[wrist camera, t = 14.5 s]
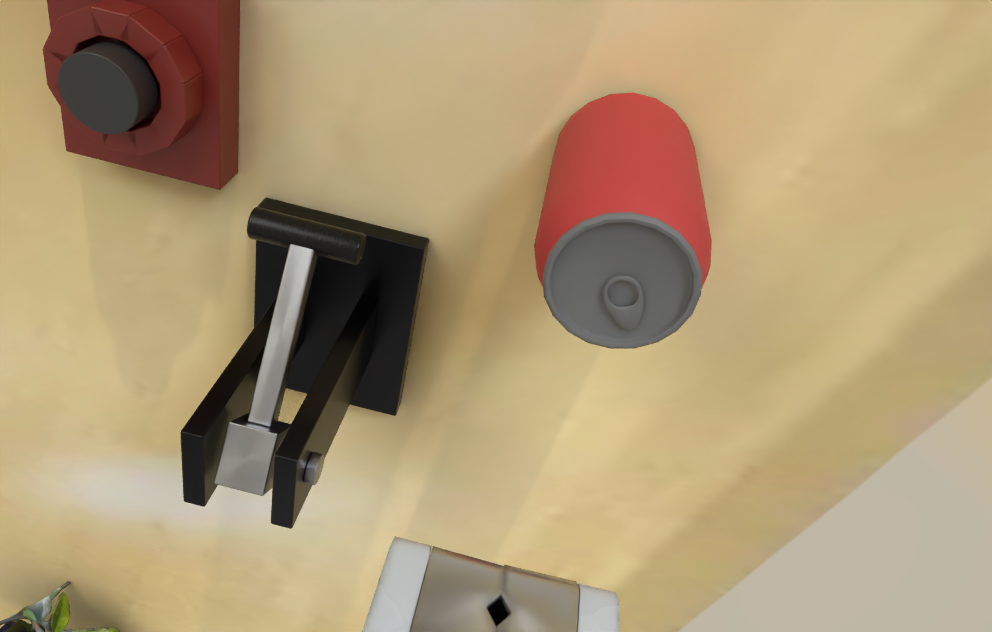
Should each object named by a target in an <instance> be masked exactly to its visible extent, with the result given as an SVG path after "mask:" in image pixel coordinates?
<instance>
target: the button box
mask: <svg viewBox="0 0 992 632" xmlns="http://www.w3.org/2000/svg"><path fill="white" fill-rule="evenodd" d="M47 3H48V11H49V19H50V27H51V33H50V35H49V37H48V39H47V41H46V43H45V45H44V48H43V54H44V61H45V69H46V76H47V84H48V86H49V89H50V90H51V92H52V93H53V95H54V97H55V98H56V100H57V101H58V103H59V105H60V106H61V113H62V121H63V129H64V136H65V144H66V151H68V152H72V153H76V154H80V155H84V156H88V157H92V158H96V159H100V160H104V161H108V162H112V163H116V164H120V165H124V166H128V167H132V168H135V169H139V170H143V171H147V172H151V173H155V174H159V175H163V176H167V177H171V178H175V179H179V180H183V181H187V182H191V183H195V184H199V185H203V186H207V187H211V188H215V189H219V190H220V189H221V188H222V187H223V186H225V185H226V184H227V183H228V182H229V181H230V180H231V179H232V178H233V177H234V176H235V175H236V174H237V173H238V127H239V27H240V0H47ZM100 42H113V43H118V44H121V45H123V46H125V47H127V48H129V49H131V50H132V51H134V52H135V53H137V54H138V55H139V56H140V57H141V58H142V59H143V60H144V61H145V62H146V64H147V65H148V66H149V68H150V70H151V71H152V73H153V75H154V78H155V80H156V84H157V88H158V100H157V104H156V107H155V109H154V111H153V112H152V113H151V115H149V116H148V117H147V118H145V119H144V120H142V121H141V122H139V123H138V124H136V125H135V126H133V127H132V128H130V129H129V130H127V131H125V132H123V133H120V134H104V133H100V132H97V131H94V130H92V129H90V128H89V127H87V126H85V125H84V124H82V123H81V122H80V121H79V120H78V119H77V118H76V117H75V116H74V115H73V114H72V113H71V112H70V111H69V109H68V108H67V106H66V105H65V103H64V101H63V99H62V97H61V94H60V91H59V86H58V74H59V70H60V67H61V65H62V63H63V62H64V60H65V59H66V58H67V57H69V56H70V55H72V54H74V53H77V52H79V51H81V50H83V49H85V48H88V47H90V46H92V45H94V44H96V43H100Z"/></svg>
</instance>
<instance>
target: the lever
mask: <svg viewBox="0 0 992 632" xmlns="http://www.w3.org/2000/svg"><path fill="white" fill-rule="evenodd" d="M247 234H248V237H249V238H251V239H255V240H259V241H262V242H266V243H270V244H274V245H278V246H282V247H286V248H289V251H288V255H287V259H286V263H285V267H284V272H283V276H282V280H281V284H280V288H279V292H278V296H277V300H276V305H275V309H274V313H273V317H272V321H271V325H270V329H269V333H268V338H267V342H266V346H265V350H264V354H263V358H262V362H261V366H260V371H259V375H258V379H257V383H256V387H255V391H254V395H253V399H252V404H251V408H250V412H249V413H247V414H245V415H243V416H241V417H239V418H237V419H234V420H232V421H230V422H229V424H228V428H227V432H226V436H225V440H224V445H223V449H222V453H221V457H220V461H219V465H218V469H217V474H216V478H215V482H214V483H215V484H218V485H221V486H225V487H229V488H233V489H237V490H241V491H245V492H249V493H253V494H257V495H261V496H263V495H264V494H265V493H267V492H268V491H269V490H270V489H271V488H273V471H274V455H275V453H276V451H277V450H278V448H279V446H280V444H281V442H282V440H283V438H284V437H285V435H286V433H287V431H288V429H289V427H290V426H291V424H288V423H284V422H280V421H278V417H279V413H280V409H281V405H282V401H283V397H284V393H285V388H286V384H287V380H288V376H289V372H290V368H291V364H292V360H293V356H294V352H295V347H296V343H297V339H298V335H299V331H300V327H301V323H302V319H303V315H304V311H305V306H306V302H307V298H308V294H309V290H310V286H311V282H312V278H313V274H314V270H315V265H316V261H317V257H318V256H322V257H326V258H330V259H334V260H338V261H342V262H346V263H350V264H354V265H359V264H360V262H361V260H362V258H363V255H364V252H365V247H366V235H365V234H364V233H360V232H356V231H352V230H348V229H344V228H340V227H336V226H332V225H328V224H324V223H320V222H316V221H312V220H308V219H304V218H300V217H296V216H292V215H288V214H284V213H280V212H276V211H272V210H268V209H264V208H261V207H256V208H254V209H253V211H252V212H251V214H250V217H249V220H248V225H247Z"/></svg>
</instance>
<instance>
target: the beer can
mask: <svg viewBox="0 0 992 632" xmlns="http://www.w3.org/2000/svg"><path fill="white" fill-rule="evenodd" d="M711 241H712V240H711V235H710V229H709V224H708V219H707V213H706V208H705V202H704V197H703V191H702V186H701V181H700V175H699V170H698V164H697V159H696V154H695V148H694V145H693V142H692V139H691V136H690V133H689V130H688V127H687V126H686V125H685V123H684V122H683V121H682V120H681V118H680V117H679V116H678V114H677V113H676V112H675V111H674V110H673V109H671V108H670V107H668V106H667V105H665V104H663V103H662V102H660V101H659V100H657V99H656V98H652V97H648V96H644V95H640V94H636V93H624V94H610V95H607V96H605V97H602V98H599V99H597V100H594V101H592V102H589V103H588V104H586V105H585V106H584V107H583V108H581V109H580V110H579V111H578V112H576V113H575V114H574V115H573V116H571V118H570V119H569V121H568V122H567V124H566V125H565V127H564V128H563V130H562V131H561V133H560V134H559V137H558V141H557V145H556V148H555V152H554V156H553V161H552V165H551V170H550V175H549V179H548V184H547V189H546V193H545V198H544V203H543V207H542V212H541V217H540V221H539V226H538V231H537V235H536V240H535V245H534V248H535V259H536V269H537V274H538V278H539V280H540V282H541V284H542V286H543V290H544V298H545V300H546V302H547V304H548V306H549V308H550V310H551V312H552V315H553V316H554V317H555V318H556V319H557V320H558V321H559V323H560V324H561V325H562V326H563V327H564V328H565V329H566V330H567V331H568V332H570V333H572V334H573V335H575V336H577V337H579V338H580V339H582V340H584V341H586V342H588V343H591V344H595V345H599V346H603V347H607V348H637V347H641V346H645V345H649V344H653V343H656V342H659V341H660V340H662V339H664V338H665V337H667V336H669V335H670V334H672V333H674V332H676V331H677V330H678V329H679V328H680V327H681V326H682V325H683V324H684V323H685V322H686V320H687V319H688V318H689V317H690V316H691V315H692V314H693V311H694V309H695V307H696V304H697V302H698V300H699V297H700V295H701V289H702V287H703V284H704V282H705V280H706V277H707V275H708V272H709V268H710V262H711Z"/></svg>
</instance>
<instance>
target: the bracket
mask: <svg viewBox="0 0 992 632" xmlns="http://www.w3.org/2000/svg"><path fill="white" fill-rule="evenodd" d="M258 207H261V208H264V209H268V210H272V211H276V212H280V213H284V214H288V215H292V216H296V217H300V218H304V219H308V220H312V221H316V222H320V223H324V224H328V225H332V226H336V227H340V228H344V229H348V230H352V231H356V232H360V233H364V234H365V235H366V247H365V252H364V255H363V258H362V260H361V262H360V264H359V265H354V264H350V263H346V262H342V261H338V260H334V259H330V258H326V257H322V256H318V257H317V261H316V265H315V270H314V274H313V278H312V282H311V286H310V290H309V294H308V298H307V302H306V306H305V311H304V315H303V319H302V323H301V327H300V331H299V335H298V339H297V343H296V347H295V352H294V356H293V360H292V364H291V368H290V372H289V376H288V380H287V384H286V388H287V389H291V390H295V391H299V392H303V393H307V396H306V398H305V400H304V402H303V404H302V405H301V407H300V409H299V411H298V413H297V415H296V416H295V418H294V420H293V422H292V424H291V426H290V427H289V429H288V431H287V433H286V435H285V437H284V438H283V440H282V442H281V444H280V446H279V448H278V450H277V451H276V453H275V455H274V471H273V491H272V510H271V523H272V524H275V525H278V526H282V527H286V528H292V527H293V525H294V523H295V521H296V519H297V517H298V515H299V512H300V510H301V508H302V506H303V504H304V502H305V499H306V497H307V495H308V493H309V491H310V489H311V487H312V485H315V484H316V483H317V482H318V480H319V477H320V475H321V472H322V468H323V464H324V459H325V456H326V454H327V452H328V450H329V448H330V446H331V444H332V441H333V439H334V437H335V435H336V433H337V431H338V428H339V426H340V424H341V422H342V420H343V418H344V416H345V413H346V411H347V409H348V407H349V405H354V406H358V407H362V408H366V409H370V410H374V411H378V412H382V413H386V414H390V415H394V416H395V415H396V414H397V411H398V409H399V406H400V403H401V397H402V391H403V386H404V380H405V374H406V369H407V363H408V357H409V351H410V346H411V340H412V334H413V329H414V323H415V317H416V311H417V306H418V300H419V294H420V289H421V283H422V277H423V271H424V266H425V260H426V254H427V249H428V243H429V239H428V238H424V237H420V236H416V235H412V234H408V233H404V232H400V231H396V230H393V229H389V228H385V227H381V226H377V225H373V224H369V223H365V222H361V221H357V220H353V219H349V218H345V217H341V216H337V215H333V214H329V213H325V212H321V211H317V210H313V209H309V208H305V207H301V206H297V205H293V204H289V203H285V202H282V201H278V200H274V199H270V198H265V199H264V200H263V201H262V202H261V203H260V204H259V206H258ZM288 251H289V248H286V247H282V246H278V245H274V244H270V243H266V242H262V241H259V240H256V274H255V312H254V329H253V331H252V332H251V334H250V335H249V336H248V338H247V339H246V341H245V342H244V343H243V345H242V346H241V348H240V349H239V350H238V352H237V353H236V355H235V356H234V357H233V359H232V360H231V362H230V363H229V364H228V366H227V367H226V369H225V370H224V371H223V373H222V374H221V376H220V377H219V378H218V380H217V381H216V383H215V384H214V385H213V387H212V388H211V390H210V391H209V393H208V394H207V395H206V397H205V398H204V400H203V401H202V402H201V404H200V405H199V407H198V408H197V409H196V411H195V412H194V414H193V415H192V416H191V418H190V419H189V421H188V422H187V423H186V425H185V426H184V428H183V429H182V430H181V452H182V473H183V494H184V501H185V502H188V503H192V504H196V505H200V506H205V505H206V504H207V502H208V500H209V499H210V497H211V495H212V494H213V492H214V490H215V489H216V487H217V485H218V484H215V483H214V482H215V478H216V474H217V469H218V465H219V461H220V457H221V453H222V449H223V445H224V440H225V436H226V432H227V428H228V424H229V422H230V421H232V420H234V419H237V418H239V417H241V416H243V415H245V414H247V413H249V412H250V408H251V404H252V399H253V395H254V391H255V387H256V383H257V379H258V375H259V371H260V366H261V362H262V358H263V354H264V350H265V346H266V342H267V338H268V333H269V329H270V325H271V321H272V317H273V313H274V309H275V305H276V300H277V296H278V292H279V288H280V284H281V280H282V276H283V272H284V267H285V263H286V259H287V255H288Z"/></svg>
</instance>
